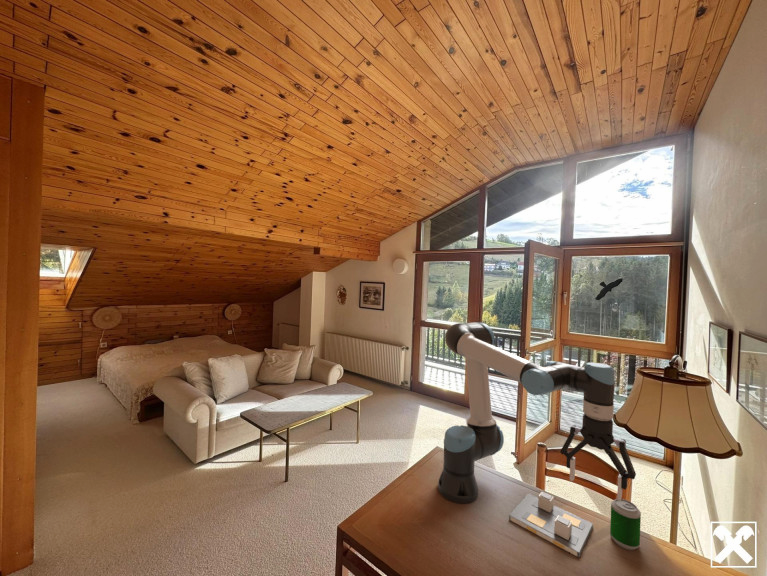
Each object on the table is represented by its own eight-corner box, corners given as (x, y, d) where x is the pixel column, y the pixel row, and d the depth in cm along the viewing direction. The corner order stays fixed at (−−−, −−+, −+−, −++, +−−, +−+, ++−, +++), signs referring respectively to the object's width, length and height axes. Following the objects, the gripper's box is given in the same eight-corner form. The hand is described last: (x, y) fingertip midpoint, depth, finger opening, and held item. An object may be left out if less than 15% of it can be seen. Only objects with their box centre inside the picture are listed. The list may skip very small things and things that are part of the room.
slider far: (538, 506, 114) (538, 494, 114) (541, 502, 116) (541, 490, 116) (550, 512, 111) (550, 500, 111) (553, 508, 113) (553, 495, 113)
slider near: (554, 533, 102) (554, 519, 102) (557, 527, 104) (558, 514, 104) (568, 540, 99) (568, 526, 99) (571, 534, 101) (571, 520, 101)
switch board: (508, 520, 109) (508, 515, 109) (528, 497, 122) (528, 492, 122) (578, 558, 95) (578, 552, 95) (592, 528, 107) (592, 522, 107)
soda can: (645, 554, 97) (646, 515, 97) (617, 549, 98) (618, 510, 98) (631, 535, 104) (632, 498, 104) (605, 531, 106) (606, 495, 106)
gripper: (550, 407, 101) (548, 475, 102) (647, 433, 85) (644, 515, 85) (558, 401, 107) (555, 466, 107) (650, 425, 90) (647, 502, 90)
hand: (594, 488), depth 96 cm, fingers open, 11 cm apart
